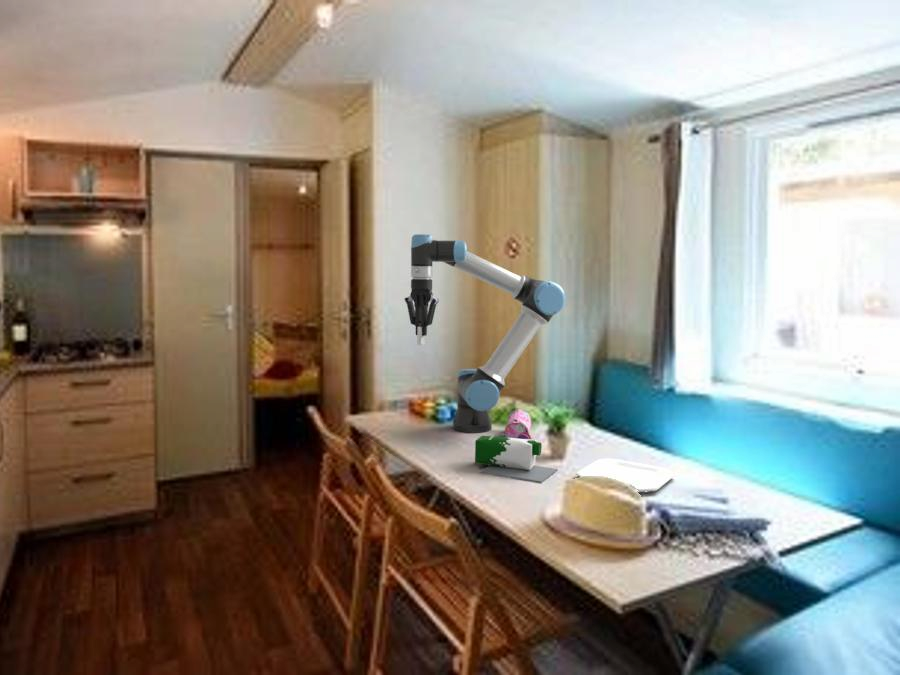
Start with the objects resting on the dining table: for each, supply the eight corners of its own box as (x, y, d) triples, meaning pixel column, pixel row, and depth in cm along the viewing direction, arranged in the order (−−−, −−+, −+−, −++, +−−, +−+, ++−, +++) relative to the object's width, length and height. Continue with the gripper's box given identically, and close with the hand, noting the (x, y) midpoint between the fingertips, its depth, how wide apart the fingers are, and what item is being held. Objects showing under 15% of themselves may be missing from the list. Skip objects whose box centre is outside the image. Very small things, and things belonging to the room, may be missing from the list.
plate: (602, 462, 230) (602, 456, 229) (678, 477, 216) (679, 470, 215) (570, 482, 209) (570, 475, 209) (652, 499, 195) (652, 492, 195)
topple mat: (480, 472, 217) (480, 470, 216) (499, 461, 229) (499, 459, 229) (541, 483, 207) (541, 481, 207) (557, 470, 220) (557, 469, 219)
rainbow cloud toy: (539, 451, 241) (539, 430, 240) (532, 459, 232) (533, 437, 231) (514, 449, 244) (515, 428, 243) (507, 456, 235) (508, 435, 234)
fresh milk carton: (482, 432, 228) (543, 438, 222) (481, 459, 229) (542, 466, 222) (474, 438, 220) (537, 444, 213) (473, 466, 221) (536, 473, 214)
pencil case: (528, 446, 248) (529, 421, 247) (502, 444, 249) (503, 419, 248) (531, 431, 269) (532, 408, 268) (508, 430, 270) (508, 407, 269)
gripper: (400, 278, 248) (400, 344, 251) (432, 279, 242) (431, 347, 245) (411, 277, 255) (410, 342, 258) (442, 278, 249) (442, 344, 252)
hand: (421, 344), depth 251 cm, fingers closed
